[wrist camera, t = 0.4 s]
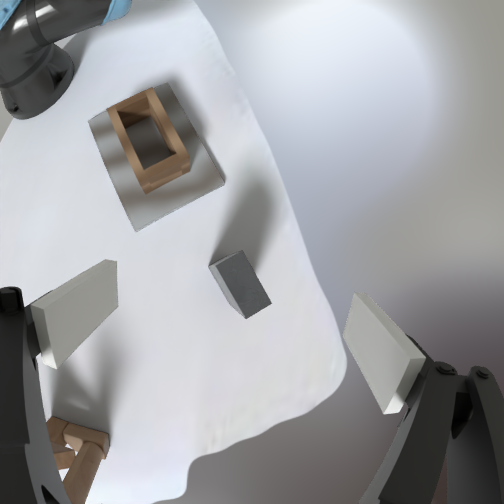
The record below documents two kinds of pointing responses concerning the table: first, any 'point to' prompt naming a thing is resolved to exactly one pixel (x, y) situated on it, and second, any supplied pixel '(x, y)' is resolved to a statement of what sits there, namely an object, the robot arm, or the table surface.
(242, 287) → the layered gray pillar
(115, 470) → the table surface
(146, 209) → the post slot
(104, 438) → the wooden angular frame
